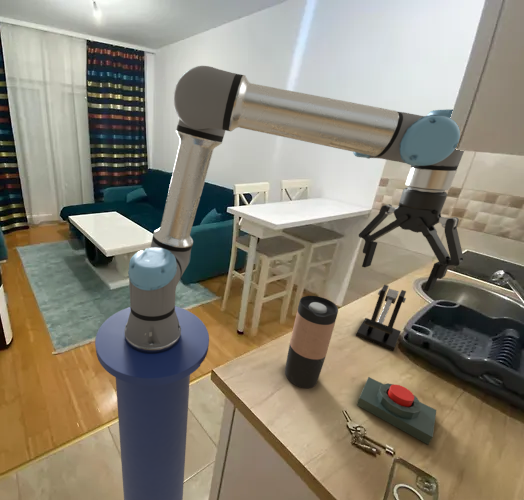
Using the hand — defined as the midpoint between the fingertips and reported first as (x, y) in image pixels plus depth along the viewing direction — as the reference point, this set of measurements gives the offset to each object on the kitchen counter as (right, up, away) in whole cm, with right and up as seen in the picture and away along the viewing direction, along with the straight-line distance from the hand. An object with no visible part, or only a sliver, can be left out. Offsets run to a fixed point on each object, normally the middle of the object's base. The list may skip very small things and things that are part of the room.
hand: (394, 276), depth 70 cm
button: (-8, -24, -11) cm, 27 cm away
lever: (+3, -10, +7) cm, 13 cm away
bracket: (+5, -18, +13) cm, 23 cm away
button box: (-8, -27, -10) cm, 30 cm away
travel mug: (-24, -24, -2) cm, 34 cm away
